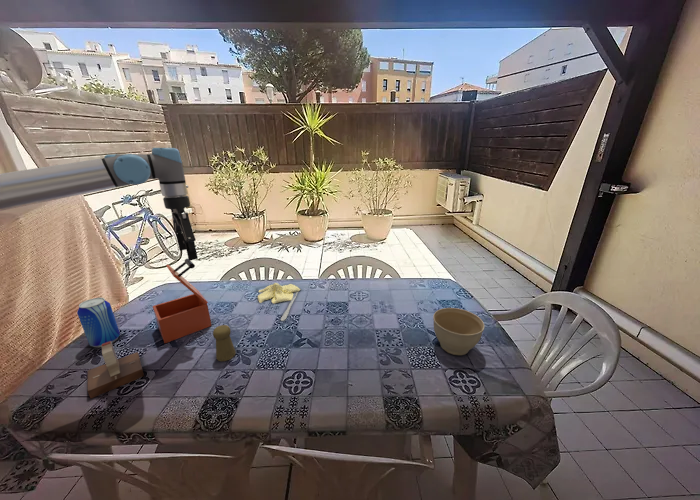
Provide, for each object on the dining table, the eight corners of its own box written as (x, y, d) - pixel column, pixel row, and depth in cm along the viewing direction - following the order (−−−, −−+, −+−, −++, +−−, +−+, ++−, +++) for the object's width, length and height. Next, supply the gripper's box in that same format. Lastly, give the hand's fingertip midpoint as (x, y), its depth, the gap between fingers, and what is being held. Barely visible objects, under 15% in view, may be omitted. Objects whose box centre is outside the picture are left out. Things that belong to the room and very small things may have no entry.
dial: (120, 372, 79) (112, 349, 76) (110, 376, 78) (101, 353, 75) (118, 362, 83) (111, 340, 80) (109, 366, 81) (101, 343, 79)
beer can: (84, 345, 95) (69, 305, 89) (112, 332, 102) (99, 294, 97) (99, 352, 92) (83, 311, 86) (126, 337, 99) (113, 298, 94)
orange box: (164, 344, 96) (158, 320, 92) (158, 328, 104) (152, 306, 101) (211, 326, 106) (207, 304, 102) (202, 313, 114) (198, 292, 111)
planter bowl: (480, 340, 98) (485, 314, 95) (477, 369, 85) (482, 340, 81) (435, 327, 105) (438, 303, 102) (425, 352, 92) (428, 325, 88)
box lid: (173, 276, 92) (191, 261, 95) (165, 265, 101) (182, 252, 103) (206, 304, 102) (221, 290, 105) (197, 292, 111) (211, 280, 113)
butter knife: (277, 320, 109) (284, 320, 108) (294, 289, 134) (300, 289, 134) (277, 321, 109) (285, 321, 109) (295, 290, 134) (300, 290, 134)
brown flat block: (90, 399, 74) (87, 390, 73) (90, 378, 81) (87, 370, 80) (144, 376, 82) (141, 368, 81) (140, 359, 89) (137, 351, 88)
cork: (239, 352, 92) (235, 325, 88) (225, 364, 87) (220, 335, 83) (227, 347, 94) (222, 320, 90) (212, 358, 89) (206, 330, 85)
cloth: (303, 286, 137) (302, 275, 135) (291, 305, 120) (290, 292, 118) (261, 284, 140) (260, 273, 138) (244, 302, 123) (242, 290, 121)
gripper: (198, 199, 86) (209, 261, 93) (179, 191, 103) (190, 244, 110) (170, 201, 81) (185, 267, 88) (156, 193, 98) (169, 248, 106)
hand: (188, 254), depth 99 cm, fingers open, 13 cm apart
